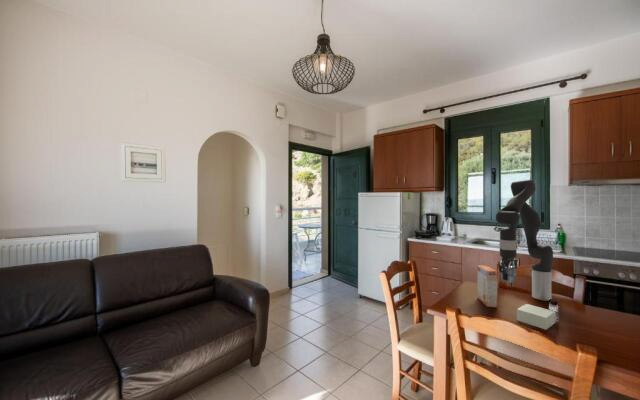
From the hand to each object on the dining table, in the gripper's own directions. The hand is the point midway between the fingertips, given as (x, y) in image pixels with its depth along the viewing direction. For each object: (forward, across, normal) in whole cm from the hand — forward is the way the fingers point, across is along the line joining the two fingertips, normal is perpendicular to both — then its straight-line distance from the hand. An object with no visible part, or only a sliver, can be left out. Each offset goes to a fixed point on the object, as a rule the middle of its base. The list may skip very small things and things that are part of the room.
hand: (508, 279), depth 146 cm
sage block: (+19, -2, +12) cm, 22 cm away
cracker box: (+19, -4, -14) cm, 24 cm away
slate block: (+1, 0, 0) cm, 1 cm away
